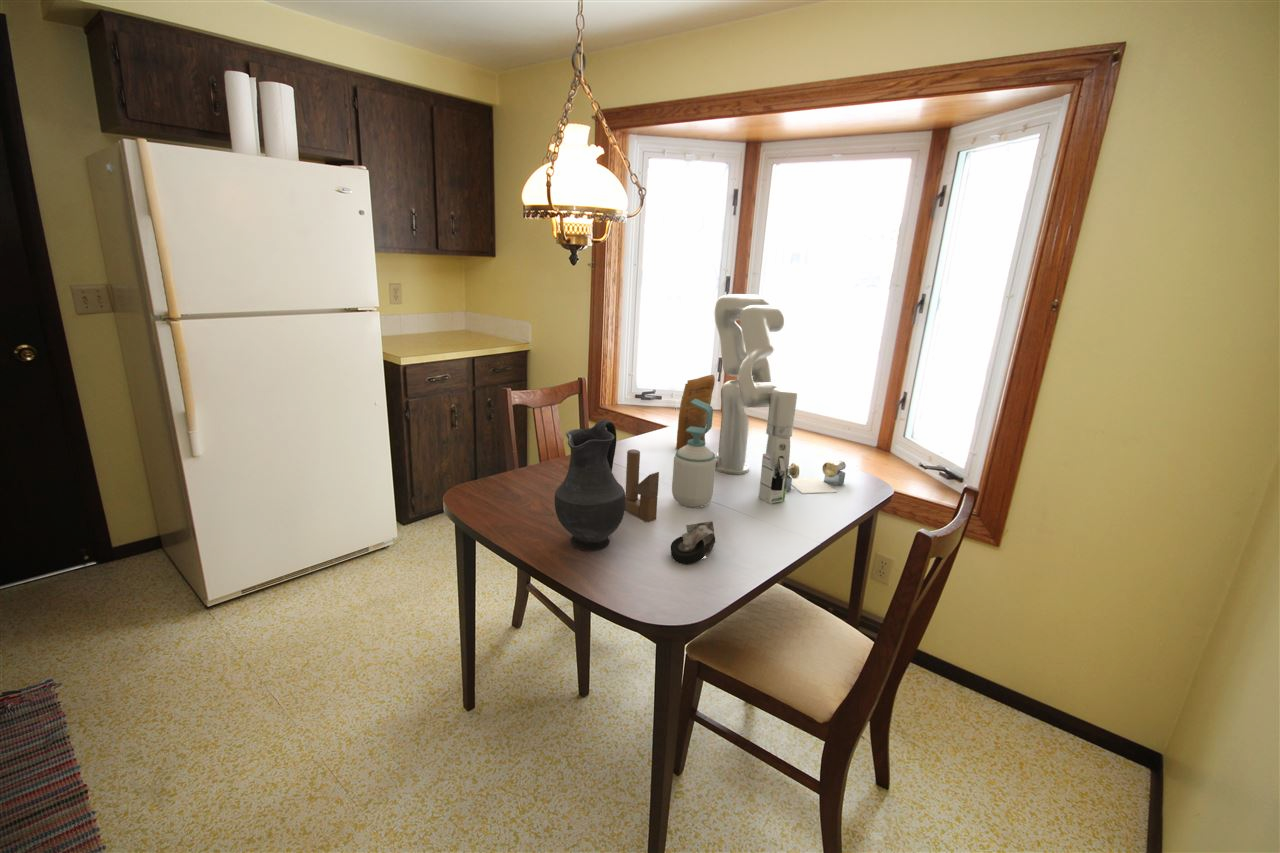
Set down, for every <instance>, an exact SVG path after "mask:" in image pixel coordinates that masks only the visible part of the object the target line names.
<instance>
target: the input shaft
mask: <svg viewBox="0 0 1280 853" xmlns="http://www.w3.org/2000/svg"><path fill="white" fill-rule="evenodd" d="M799 477H800V467H799V465H798V463H796V462H793V463H791V464H790V465H789V468H788V475H787V484H786V491H791V489H792V488H791V487H792V485H791V482H792V479H797V478H799Z"/></svg>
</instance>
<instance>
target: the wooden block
mask: <svg viewBox="0 0 1280 853" xmlns="http://www.w3.org/2000/svg"><path fill="white" fill-rule="evenodd" d="M640 458H641V451H640V450H639V449H628V450H627V452H626V471H625V472H626V474H625V475H626V476H625V498H626V504H625V513H628V514H630V515H632V516H634V517H636V518H638V519H640V520H642V521H643V522H645V523H647V522H648V523H651V522H653V521H656V520H657V510H658V499H659V498H658V495H659V494H658V493H659V480H660V479H659V477H660V472H659V471H657V472H654V473H651V474H648V475H647V476H646V477H645V478H644V479H643V480H642V481H640V460H641V459H640ZM639 495H640V496H639Z"/></svg>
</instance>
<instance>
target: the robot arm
mask: <svg viewBox="0 0 1280 853" xmlns="http://www.w3.org/2000/svg"><path fill="white" fill-rule="evenodd" d="M713 308H714V310H713V316H714V323H715V326H716V329H717V332H718V336H719V341H720V353H721V362H722V363H721V364H722V370H723V373H725V375H727V376H730V377H738V378H737V379H731V380H728V381H726V382H725V383H723V384H722V385H721V388H720V402H721V418H720V419H721V421H720V429H719V439H718V440H719V441H718V451H717V452H716V453H715V458H716V466H715V471H717V472H720V473H723V474H726V475H727V474H728V475H741V474H742V475H743V474H745V473H748V472H749V470H750V466H749V464H748V463H746V459H747V458H746V457H747V449H748V448H747V446H748V437H749V428H750V427H749V425H750V420H749V417H748V415H747V413H746V412H745V409H747V408H751V409H752V408H768V412H767V413H768V414H767V423H766V432H765V434H767V441H766V449H765V454H768V455H769V456H770V464H771V467H772V468H773V469H774V472H773V476H774V477H772V483H771V490H776V491H781V490H782V485H783V478H784V472H785V469H786V470H787V469H788V468H789V466H790V453H791V437H793V430H794V422H795V415H796V409H797V399H798V393H797V391H796V390H795V389H792V388H789V387H787V386H786V385H785V384H784V383H782V382H778V381H777V382H772V378H771V367H770V361H769V356H771V355H772V354H773V352H774V351H775V350H774V349H775V347H774V343H773V339H772V334H771V333H774V332H775V333H776V332H777V333H778V332H780V331H781V330H782V329H783V327H784V326H785V319H786V318H785V313H784V312H783V309H782V308H781V307H780V306H779V304H777V303H775V302H774V301H772V300H771V299H769V298H768V297H766V296H764V295H761V294H743V293H733V294H731V293H730V294H724V295H722V296H720V297H718V298H717V300H716V301H715V304H714V307H713ZM737 321H739V323H740V325H739V324H738V323H737ZM776 465H778V466H779V468H776ZM776 470H779V472H777V473H776Z"/></svg>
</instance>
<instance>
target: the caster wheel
mask: <svg viewBox="0 0 1280 853" xmlns="http://www.w3.org/2000/svg"><path fill="white" fill-rule="evenodd" d="M685 529H686V532H685V533H683V534H681V535H682V536H679V537H677V538H675V539H674V540H673V541H672V542H671V544H670V545H669V546H670V548H669V549H670V554H671V558H672V560H673V559H674V560H675V561H674V560H673V561H674V562H675V563H677V562H678V564H680V563H681V564H680V565H694V564H696V563H699V562H700V561H701V560H703V559H702V558H703V557H704V556H706V557H707V558H708V557H709V556H710V555H711V553H712V551H713V549H714V547H715V544H716V542H717V541H716V535H715V527H714V521H713V520H712V521H710V520H709V521H705V522H698V523H691V524H690V523H689V524H686V526H685Z"/></svg>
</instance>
